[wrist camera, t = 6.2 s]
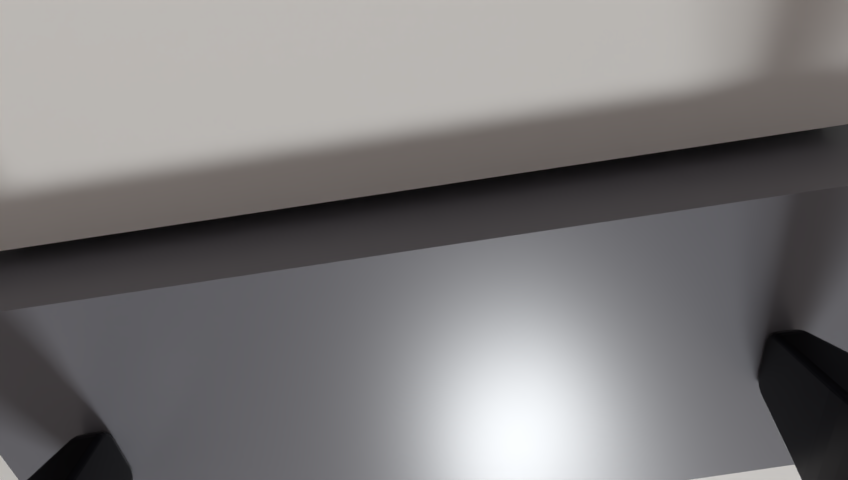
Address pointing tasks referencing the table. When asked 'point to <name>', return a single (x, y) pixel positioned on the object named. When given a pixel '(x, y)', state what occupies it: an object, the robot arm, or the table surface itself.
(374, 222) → the dark grey rectangular block
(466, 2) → the white tray
